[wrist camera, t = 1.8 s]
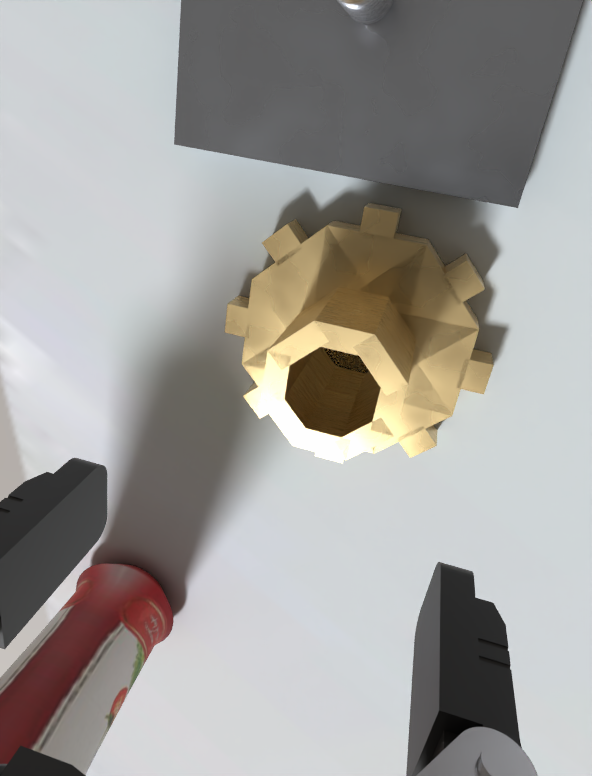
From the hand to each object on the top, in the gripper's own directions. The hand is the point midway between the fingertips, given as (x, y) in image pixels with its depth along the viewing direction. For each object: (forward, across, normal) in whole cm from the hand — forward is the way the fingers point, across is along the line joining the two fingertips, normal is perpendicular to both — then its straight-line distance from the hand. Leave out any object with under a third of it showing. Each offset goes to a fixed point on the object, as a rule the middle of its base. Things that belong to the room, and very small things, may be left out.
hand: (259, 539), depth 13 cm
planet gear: (+15, 0, 0) cm, 15 cm away
